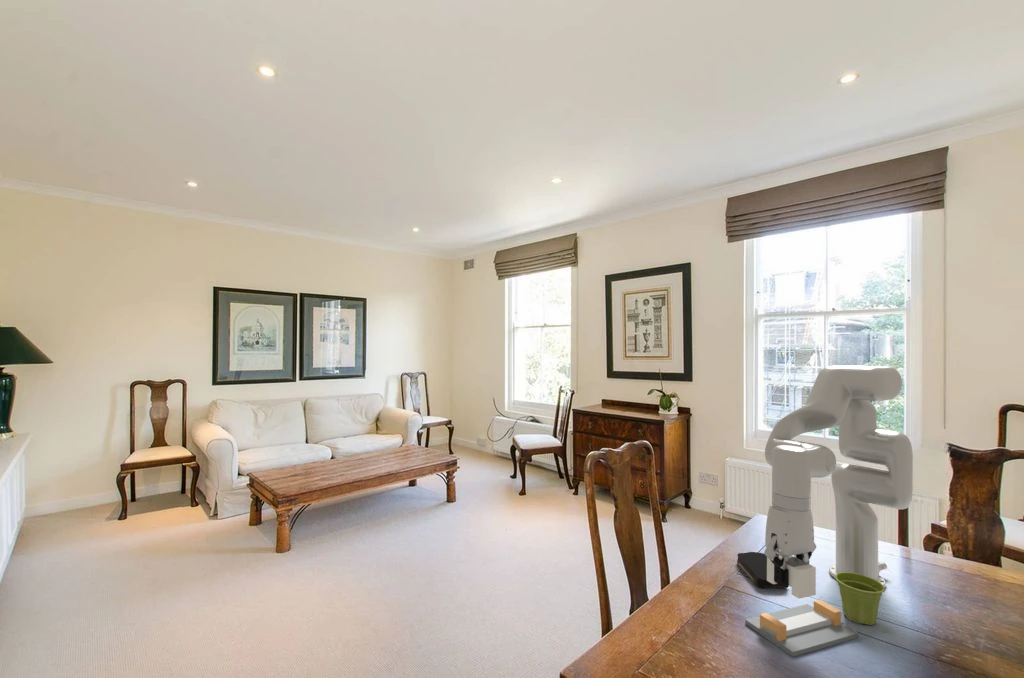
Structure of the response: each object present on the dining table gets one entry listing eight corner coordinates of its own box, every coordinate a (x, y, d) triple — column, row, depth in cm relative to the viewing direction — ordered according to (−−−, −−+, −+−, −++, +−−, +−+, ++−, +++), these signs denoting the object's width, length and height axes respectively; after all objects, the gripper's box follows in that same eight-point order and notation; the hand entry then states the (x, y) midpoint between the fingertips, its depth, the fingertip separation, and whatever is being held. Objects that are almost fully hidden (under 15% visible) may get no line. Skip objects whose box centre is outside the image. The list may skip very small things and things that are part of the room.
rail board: (807, 608, 112) (807, 591, 112) (858, 637, 100) (858, 619, 100) (745, 623, 105) (745, 606, 105) (792, 656, 94) (792, 637, 94)
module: (782, 577, 106) (782, 550, 107) (815, 594, 99) (815, 566, 99) (766, 580, 105) (766, 553, 105) (798, 598, 97) (799, 569, 97)
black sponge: (791, 593, 119) (791, 578, 119) (758, 590, 120) (758, 576, 120) (763, 564, 136) (763, 551, 136) (734, 562, 136) (734, 550, 136)
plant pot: (872, 634, 101) (872, 595, 102) (827, 612, 110) (827, 576, 110) (892, 623, 106) (892, 586, 106) (847, 603, 114) (847, 568, 114)
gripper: (802, 493, 109) (802, 569, 108) (748, 499, 103) (747, 580, 102) (833, 503, 102) (833, 585, 101) (777, 510, 96) (777, 597, 95)
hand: (790, 581), depth 102 cm, fingers closed on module, 5 cm apart
